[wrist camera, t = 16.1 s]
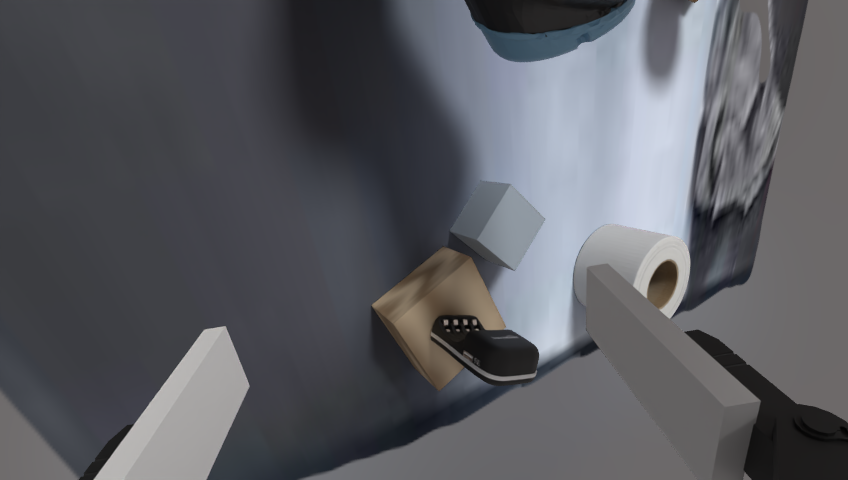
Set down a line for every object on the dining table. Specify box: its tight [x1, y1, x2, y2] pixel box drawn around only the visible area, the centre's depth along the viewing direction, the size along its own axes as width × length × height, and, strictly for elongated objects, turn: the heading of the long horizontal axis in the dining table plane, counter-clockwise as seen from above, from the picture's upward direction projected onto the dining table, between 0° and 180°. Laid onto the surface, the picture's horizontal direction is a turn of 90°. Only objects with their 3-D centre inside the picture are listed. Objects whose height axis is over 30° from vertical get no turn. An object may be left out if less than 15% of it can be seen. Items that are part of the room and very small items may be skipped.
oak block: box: [371, 246, 506, 391], centre depth 51 cm, size 12×12×6 cm
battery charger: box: [430, 315, 539, 386], centre depth 44 cm, size 7×4×11 cm, turn 77°
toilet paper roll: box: [574, 224, 690, 319], centre depth 67 cm, size 16×15×11 cm
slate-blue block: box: [450, 181, 545, 271], centre depth 53 cm, size 8×8×6 cm
